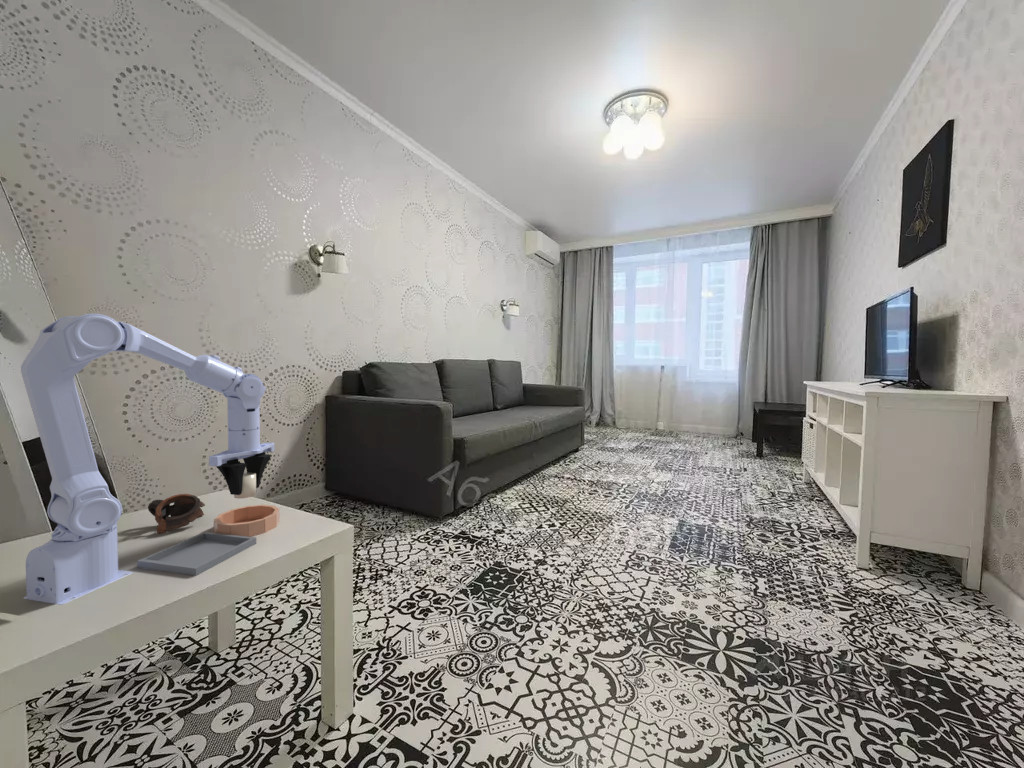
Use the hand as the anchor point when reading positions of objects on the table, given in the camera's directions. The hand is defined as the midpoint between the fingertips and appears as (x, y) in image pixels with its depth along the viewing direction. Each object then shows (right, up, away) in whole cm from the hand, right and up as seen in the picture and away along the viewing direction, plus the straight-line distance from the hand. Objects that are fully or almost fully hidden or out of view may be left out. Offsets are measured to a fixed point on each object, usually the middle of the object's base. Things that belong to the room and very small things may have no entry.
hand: (245, 490), depth 85 cm
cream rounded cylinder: (0, -1, 0) cm, 1 cm away
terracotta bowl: (0, -9, +1) cm, 9 cm away
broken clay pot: (-17, -9, +2) cm, 19 cm away
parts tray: (-1, -10, -11) cm, 15 cm away
